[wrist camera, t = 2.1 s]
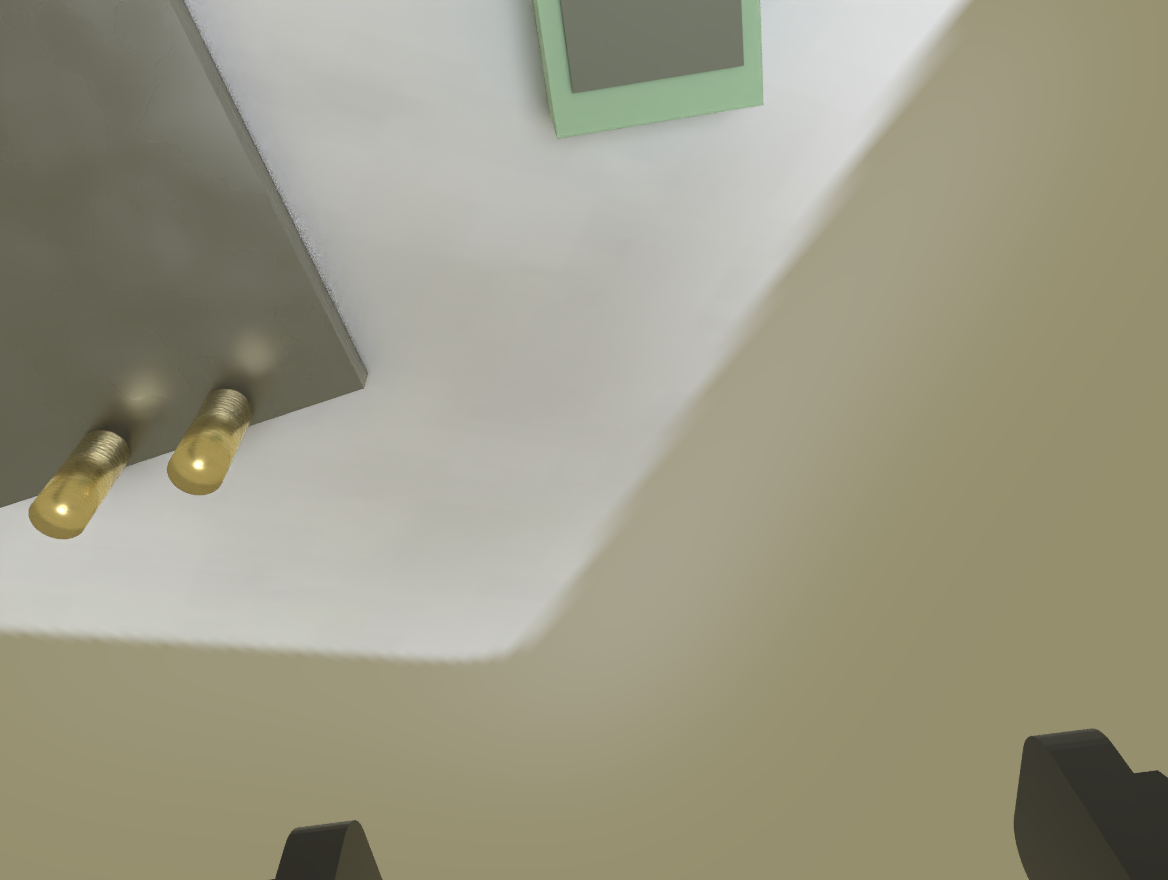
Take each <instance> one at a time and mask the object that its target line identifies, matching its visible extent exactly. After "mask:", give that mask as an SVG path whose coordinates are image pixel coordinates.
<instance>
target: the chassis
mask: <svg viewBox="0 0 1168 880" xmlns="http://www.w3.org/2000/svg"><path fill="white" fill-rule="evenodd" d="M367 374H368V373H367V371H366V369H365V367H364V365H363V363H362V361H361V359H360V357H359V355H358V353H357V351H356V349H355V347H354V345H353V343H352V341H351V339H350V337H349V335H348V333H347V331H346V329H345V327H344V325H343V323H342V321H341V318H340V316H339V314H338V312H337V310H336V308H335V306H334V304H333V302H332V300H331V298H330V296H329V294H328V292H327V290H326V288H325V286H324V284H323V282H322V280H321V278H320V276H319V274H318V272H317V270H316V268H315V266H314V264H313V262H312V260H311V258H310V256H309V254H308V252H307V250H306V248H305V246H304V244H303V242H302V240H301V238H300V236H299V234H298V232H297V229H296V227H295V225H294V223H293V221H292V219H291V217H290V215H289V213H288V211H287V209H286V207H285V205H284V203H283V201H282V199H281V197H280V195H279V193H278V191H277V189H276V187H275V185H274V183H273V181H272V179H271V177H270V175H269V173H268V171H267V169H266V167H265V165H264V163H263V161H262V159H261V157H260V155H259V153H258V151H257V149H256V147H255V145H254V143H253V141H252V138H251V136H250V134H249V132H248V130H247V128H246V126H245V124H244V122H243V120H242V118H241V116H240V114H239V112H238V110H237V108H236V106H235V104H234V102H233V100H232V98H231V96H230V94H229V92H228V90H227V88H226V86H225V84H224V82H223V80H222V78H221V76H220V74H219V72H218V70H217V68H216V66H215V64H214V62H213V60H212V58H211V56H210V54H209V52H208V50H207V47H206V45H205V43H204V41H203V39H202V37H201V35H200V33H199V31H198V29H197V27H196V25H195V23H194V21H193V19H192V17H191V15H190V13H189V11H188V9H187V7H186V5H185V3H184V1H183V0H0V508H1V507H4V506H7V505H10V504H13V503H16V502H19V501H22V500H25V499H28V498H32V497H35V496H38V497H37V498H36V499H35V500H34V502H33V503H32V504H31V506H30V508H29V518H30V521H31V523H32V524H33V526H34V527H35V528H36V529H37V530H38V531H40V532H41V533H43V534H45V535H47V536H49V537H52V538H56V539H70V538H73V537H76V536H78V535H79V534H80V533H81V532H82V531H83V530H84V528H85V527H86V525H87V524H88V522H89V521H90V519H91V518H92V516H93V515H94V513H95V511H96V510H97V508H98V507H99V505H100V504H101V502H102V501H103V499H104V498H105V496H106V495H107V493H108V492H109V490H110V489H111V487H112V486H113V484H114V482H115V481H116V479H117V478H118V476H119V475H120V473H121V472H122V470H123V469H124V467H126V466H129V465H132V464H135V463H138V462H141V461H144V460H147V459H150V458H153V457H156V456H159V455H162V454H165V453H168V452H171V451H175V452H174V454H173V455H172V457H171V459H170V461H169V463H168V466H167V473H168V476H169V478H170V480H171V482H172V483H173V484H174V485H175V486H176V487H177V488H179V489H180V490H182V491H184V492H186V493H189V494H193V495H206V494H209V493H212V492H214V491H215V490H217V489H218V488H219V487H220V485H221V483H222V481H223V479H224V477H225V475H226V473H227V471H228V468H229V466H230V464H231V462H232V460H233V458H234V455H235V453H236V451H237V449H238V447H239V445H240V443H241V440H242V438H243V436H244V434H245V432H246V430H247V427H248V426H251V425H254V424H257V423H260V422H263V421H266V420H269V419H272V418H275V417H278V416H281V415H284V414H287V413H290V412H293V411H296V410H299V409H302V408H305V407H308V406H311V405H314V404H318V403H321V402H324V401H327V400H330V399H333V398H336V397H339V396H342V395H345V394H348V393H351V392H354V391H357V390H360V389H363V388H364V386H365V382H366V378H367Z"/></svg>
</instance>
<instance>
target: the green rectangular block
mask: <svg viewBox="0 0 1168 880" xmlns="http://www.w3.org/2000/svg"><path fill="white" fill-rule="evenodd" d="M533 6H534V13H535V19H536V26H537V32H538V39H539V46H540V52H541V59H542V66H543V72H544V79H545V86H546V92H547V99H548V105H549V112H550V116H551V119H552V122H553V125H554V128H555V132H556V135H557V138H564V137H570V136H576V135H582V134H588V133H594V132H600V131H607V130H613V129H619V128H625V127H631V126H637V125H643V124H649V123H656V122H662V121H668V120H674V119H680V118H686V117H692V116H698V115H705V114H711V113H717V112H723V111H729V110H735V109H741V108H747V107H754V106H760V105H763V77H762V46H761V16H760V0H533Z"/></svg>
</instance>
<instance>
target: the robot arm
mask: <svg viewBox="0 0 1168 880" xmlns="http://www.w3.org/2000/svg"><path fill="white" fill-rule="evenodd" d="M1014 833H1015V840H1016V844H1017V848H1018V852H1019V855H1020V859H1021V862H1022V864H1023V867H1024V869H1025V872H1026V874H1027V876H1028V878H1029V880H1168V778H1167V777H1166V776H1165V775H1163V774H1162V773H1161V772H1159V771H1158V770H1157V771H1149V772H1141V773H1133V772H1132V770H1131V769H1130V768H1129V766H1128V765H1127V763H1126V762H1125V761H1124V759H1123V758H1122V757H1121V755H1120V754H1119V753H1118V751H1117V750H1116V748H1115V747H1114V746H1113V744H1112V743H1111V742H1110V740H1109V739H1108V738H1107V737H1106V736H1105V735H1104V734H1103V733H1102V732H1100V731H1099V730H1096V729H1084V730H1076V731H1068V732H1061V733H1052V734H1044V735H1037V736H1030V737H1028V738H1027V739H1026V741H1025V743H1024V747H1023V754H1022V762H1021V769H1020V777H1019V784H1018V792H1017V799H1016V807H1015V815H1014ZM272 880H382V878H381V875H380V872H379V870H378V867H377V865H376V862H375V859H374V857H373V854H372V852H371V849H370V846H369V843H368V841H367V838H366V836H365V833H364V830H363V828H362V826H361V824H360V823H359V822H358V821H356V820H354V821H346V822H338V823H330V824H322V825H315V826H306V827H298V828H295V829H294V830H293V831H292V832H291V833H290V835H289V837H288V839H287V841H286V844H285V847H284V850H283V854H282V857H281V861H280V864H279V868H278V871H277V874H276V878H275V879H272Z"/></svg>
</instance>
